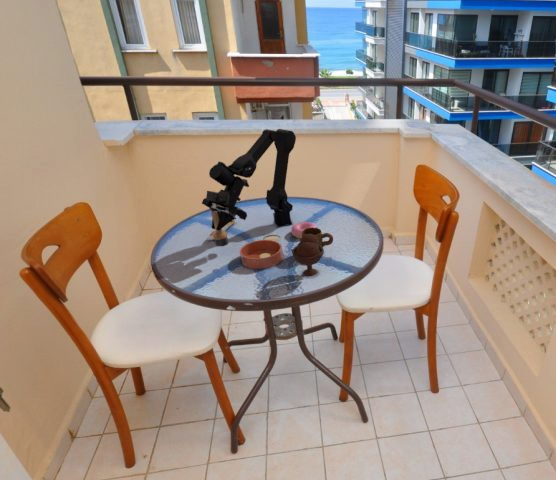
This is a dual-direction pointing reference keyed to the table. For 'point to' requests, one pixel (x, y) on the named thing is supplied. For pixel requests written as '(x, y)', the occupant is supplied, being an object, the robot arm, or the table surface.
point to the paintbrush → (222, 229)
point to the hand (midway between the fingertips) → (215, 229)
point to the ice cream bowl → (308, 253)
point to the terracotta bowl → (259, 247)
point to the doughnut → (301, 228)
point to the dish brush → (219, 235)
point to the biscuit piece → (264, 255)
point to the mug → (319, 236)
